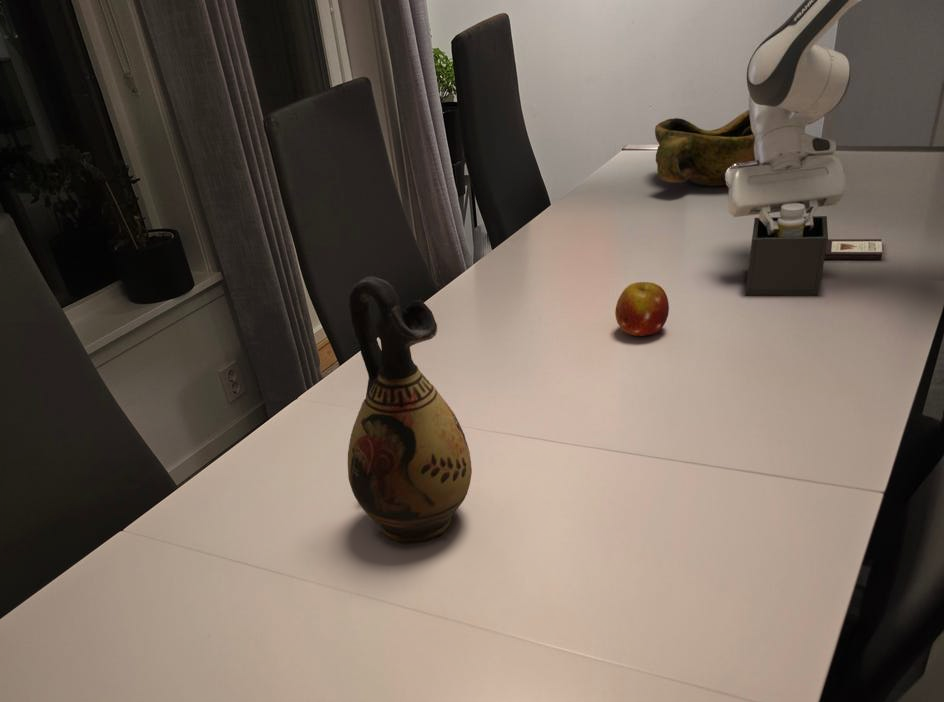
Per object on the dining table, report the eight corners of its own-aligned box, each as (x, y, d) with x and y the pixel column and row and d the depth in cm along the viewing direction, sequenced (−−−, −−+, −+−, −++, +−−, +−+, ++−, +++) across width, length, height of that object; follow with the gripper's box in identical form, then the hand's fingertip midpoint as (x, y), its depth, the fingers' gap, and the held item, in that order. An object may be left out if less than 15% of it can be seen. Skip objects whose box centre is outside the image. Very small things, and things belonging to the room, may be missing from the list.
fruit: (666, 343, 142) (669, 295, 137) (613, 344, 144) (613, 297, 139) (668, 320, 149) (670, 274, 144) (616, 322, 151) (617, 276, 146)
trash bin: (817, 271, 159) (826, 215, 153) (818, 295, 151) (828, 237, 144) (748, 271, 163) (754, 217, 156) (745, 295, 154) (751, 239, 148)
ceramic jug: (502, 514, 108) (482, 275, 88) (414, 571, 100) (370, 324, 81) (415, 474, 118) (379, 251, 98) (329, 523, 110) (272, 293, 91)
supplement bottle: (775, 250, 156) (781, 201, 150) (801, 251, 154) (809, 202, 149) (770, 259, 153) (776, 209, 147) (797, 260, 151) (804, 210, 146)
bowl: (680, 156, 232) (681, 94, 222) (789, 154, 219) (795, 87, 208) (627, 210, 210) (625, 144, 200) (745, 210, 197) (749, 139, 186)
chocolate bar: (785, 239, 171) (881, 239, 166) (784, 244, 172) (880, 244, 166) (782, 254, 165) (882, 254, 160) (782, 259, 166) (880, 259, 160)
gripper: (728, 153, 148) (737, 228, 147) (844, 139, 148) (854, 214, 147) (719, 175, 155) (728, 247, 154) (830, 162, 154) (840, 233, 153)
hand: (790, 231), depth 150 cm, fingers closed on supplement bottle, 5 cm apart
